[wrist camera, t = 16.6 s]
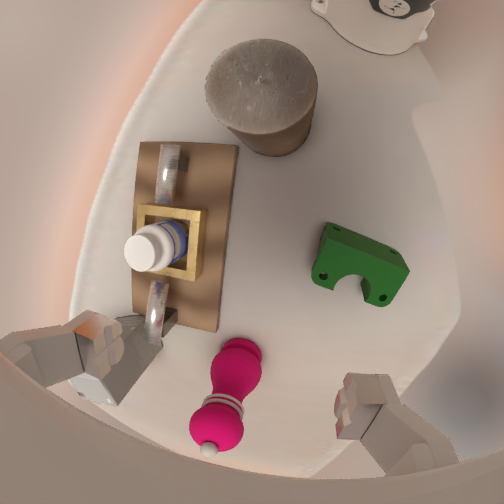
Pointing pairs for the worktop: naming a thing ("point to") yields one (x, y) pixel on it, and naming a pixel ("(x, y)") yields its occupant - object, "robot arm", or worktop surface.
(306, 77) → the pillar candle
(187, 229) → the pill bottle
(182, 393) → the worktop surface
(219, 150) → the shaft stand
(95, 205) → the worktop surface
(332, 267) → the clamp
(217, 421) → the pepper mill
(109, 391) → the skincare box
